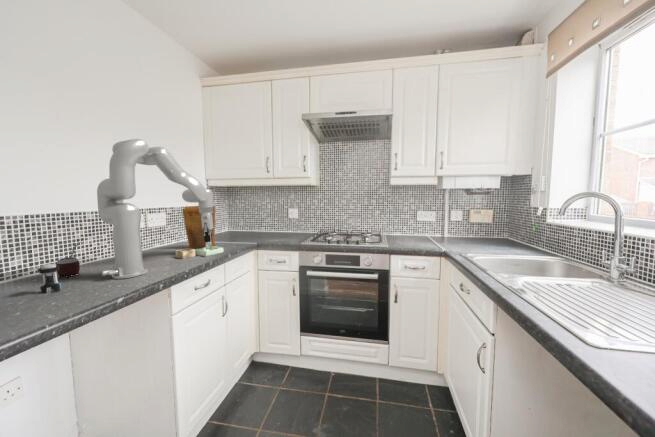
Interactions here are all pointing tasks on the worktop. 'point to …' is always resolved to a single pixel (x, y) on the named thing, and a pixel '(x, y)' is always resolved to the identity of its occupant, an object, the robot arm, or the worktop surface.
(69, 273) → the manual coffee grinder
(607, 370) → the worktop surface
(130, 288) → the worktop surface
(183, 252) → the socket block
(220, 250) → the tray
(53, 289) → the black toy figure
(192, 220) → the pancake mix bag
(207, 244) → the steel pin
